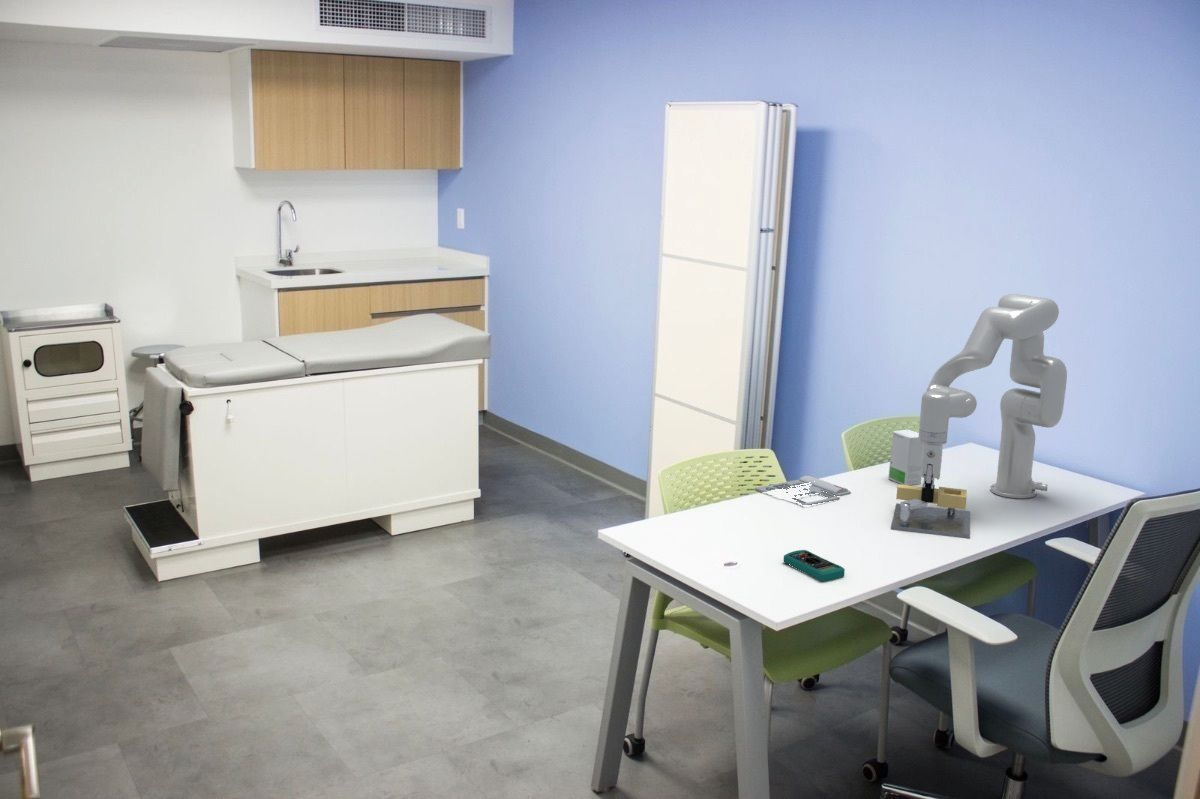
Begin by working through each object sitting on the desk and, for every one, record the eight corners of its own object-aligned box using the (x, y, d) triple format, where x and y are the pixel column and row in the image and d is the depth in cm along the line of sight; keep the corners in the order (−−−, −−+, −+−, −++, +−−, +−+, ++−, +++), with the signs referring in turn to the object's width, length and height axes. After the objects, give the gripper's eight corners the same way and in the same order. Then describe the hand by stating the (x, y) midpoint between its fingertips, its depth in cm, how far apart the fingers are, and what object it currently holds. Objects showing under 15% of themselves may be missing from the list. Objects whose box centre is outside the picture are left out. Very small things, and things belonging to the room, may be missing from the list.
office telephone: (811, 472, 326) (859, 489, 309) (811, 480, 326) (859, 497, 310) (755, 483, 313) (802, 501, 297) (754, 491, 314) (801, 510, 297)
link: (965, 501, 292) (966, 489, 292) (965, 509, 286) (966, 497, 285) (897, 493, 298) (898, 482, 297) (895, 501, 291) (896, 489, 291)
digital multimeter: (803, 558, 261) (804, 547, 261) (845, 578, 249) (846, 566, 248) (780, 563, 258) (781, 552, 257) (822, 584, 245) (823, 572, 244)
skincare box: (887, 479, 326) (891, 430, 322) (904, 476, 328) (908, 428, 325) (906, 486, 318) (909, 437, 315) (922, 484, 321) (926, 435, 317)
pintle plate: (969, 514, 293) (971, 491, 292) (969, 538, 275) (971, 513, 273) (896, 506, 300) (897, 483, 298) (890, 529, 281) (892, 505, 280)
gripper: (946, 444, 279) (940, 510, 283) (947, 430, 294) (942, 493, 299) (917, 442, 282) (911, 507, 286) (920, 428, 297) (914, 490, 301)
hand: (927, 499), depth 292 cm, fingers closed on link, 3 cm apart
